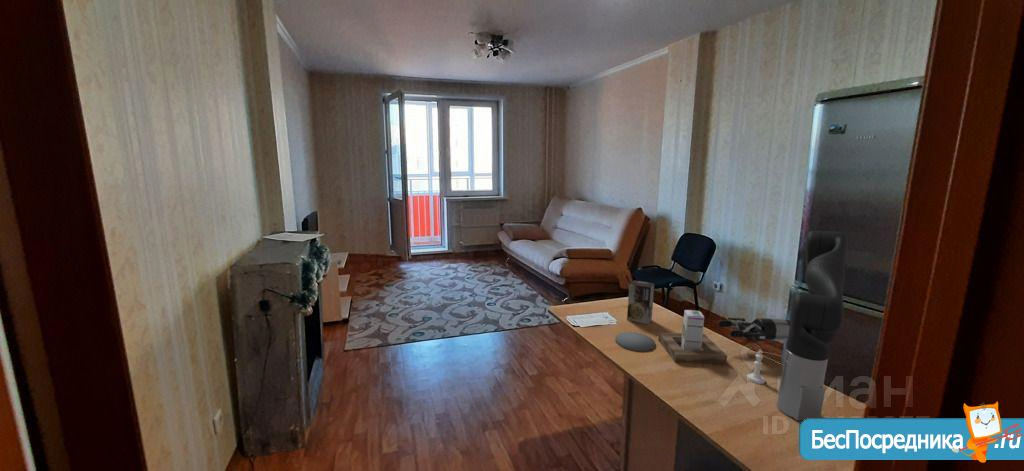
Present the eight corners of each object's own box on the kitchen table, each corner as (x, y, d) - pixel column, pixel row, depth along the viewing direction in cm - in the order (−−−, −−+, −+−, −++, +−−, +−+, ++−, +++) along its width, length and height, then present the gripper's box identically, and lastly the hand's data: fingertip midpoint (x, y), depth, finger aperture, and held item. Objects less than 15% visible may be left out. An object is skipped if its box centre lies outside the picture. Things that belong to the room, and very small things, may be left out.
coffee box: (652, 319, 174) (655, 283, 171) (648, 324, 168) (651, 287, 165) (630, 315, 178) (633, 279, 175) (626, 319, 173) (629, 283, 170)
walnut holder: (726, 363, 137) (727, 355, 137) (675, 362, 137) (676, 354, 137) (703, 341, 154) (704, 334, 153) (658, 340, 154) (658, 332, 154)
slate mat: (660, 351, 145) (660, 349, 145) (620, 350, 145) (620, 348, 145) (647, 334, 159) (648, 332, 158) (611, 333, 159) (611, 331, 159)
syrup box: (701, 356, 142) (705, 316, 140) (683, 354, 144) (687, 315, 141) (697, 348, 148) (701, 310, 145) (679, 346, 149) (684, 309, 146)
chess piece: (743, 377, 129) (747, 347, 127) (753, 374, 131) (758, 345, 129) (757, 385, 125) (762, 354, 123) (768, 382, 127) (773, 352, 125)
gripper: (760, 311, 150) (716, 310, 150) (785, 327, 136) (736, 326, 136) (757, 331, 151) (713, 329, 152) (782, 348, 138) (733, 347, 138)
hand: (724, 328), depth 144 cm, fingers open, 8 cm apart
